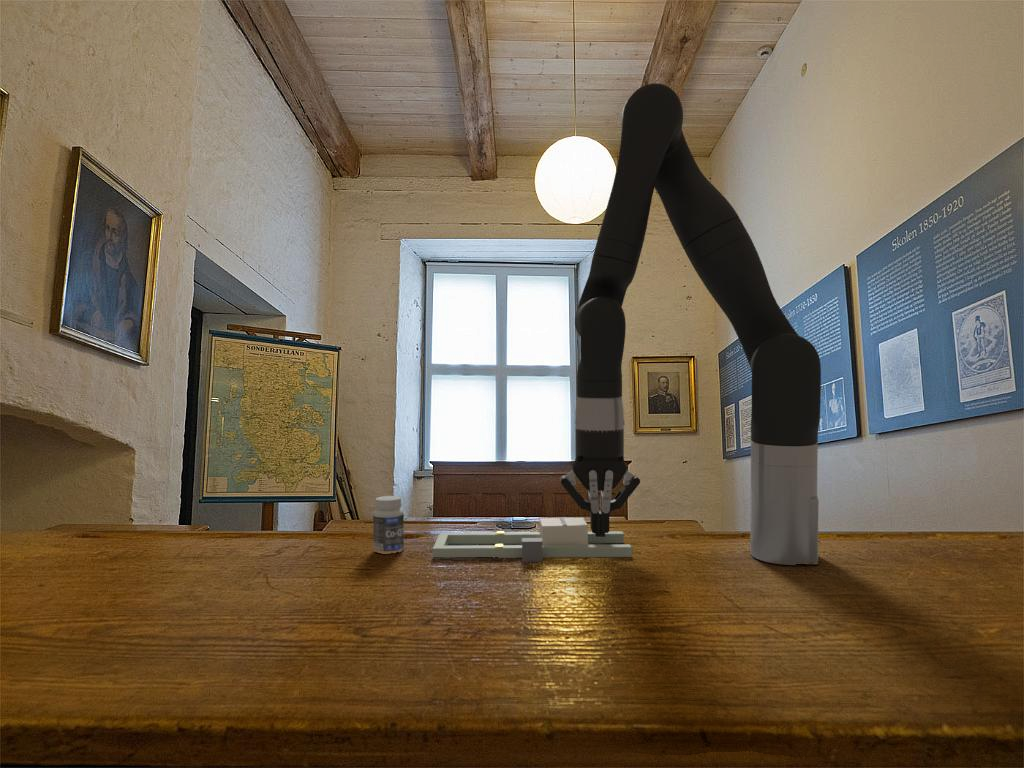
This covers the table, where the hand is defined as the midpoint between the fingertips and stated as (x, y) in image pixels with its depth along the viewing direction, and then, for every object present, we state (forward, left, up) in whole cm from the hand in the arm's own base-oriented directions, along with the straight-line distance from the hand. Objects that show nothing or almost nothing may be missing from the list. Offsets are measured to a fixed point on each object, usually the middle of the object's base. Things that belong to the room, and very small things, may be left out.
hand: (599, 535), depth 107 cm
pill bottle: (+31, +12, -2) cm, 33 cm away
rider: (+5, +2, -2) cm, 6 cm away
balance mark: (+15, +5, -1) cm, 16 cm away
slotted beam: (+10, +4, -2) cm, 11 cm away
